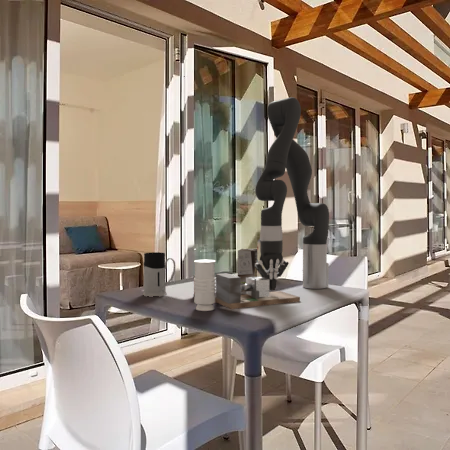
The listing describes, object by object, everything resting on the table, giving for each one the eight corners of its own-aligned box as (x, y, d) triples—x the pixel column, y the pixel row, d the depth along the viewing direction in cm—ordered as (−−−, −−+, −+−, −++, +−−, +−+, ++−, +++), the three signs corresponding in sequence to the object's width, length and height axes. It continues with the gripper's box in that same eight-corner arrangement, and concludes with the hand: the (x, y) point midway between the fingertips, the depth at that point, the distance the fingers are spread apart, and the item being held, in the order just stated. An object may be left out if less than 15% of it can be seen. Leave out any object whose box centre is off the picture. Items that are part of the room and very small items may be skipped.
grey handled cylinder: (154, 291, 171) (154, 251, 170) (183, 295, 163) (183, 253, 162) (137, 294, 164) (137, 253, 163) (166, 299, 155) (166, 256, 155)
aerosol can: (261, 275, 209) (261, 232, 208) (274, 277, 205) (275, 233, 204) (254, 277, 203) (254, 233, 202) (268, 279, 199) (268, 233, 199)
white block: (258, 292, 156) (258, 276, 156) (269, 296, 150) (269, 279, 149) (236, 294, 152) (236, 278, 152) (246, 298, 146) (246, 281, 146)
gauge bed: (280, 295, 163) (280, 268, 162) (299, 301, 152) (300, 273, 152) (214, 301, 152) (214, 273, 151) (230, 309, 141) (230, 278, 140)
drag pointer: (254, 296, 148) (254, 278, 148) (259, 298, 146) (259, 279, 145) (251, 297, 148) (251, 278, 148) (255, 298, 145) (256, 279, 145)
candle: (198, 312, 137) (198, 262, 136) (190, 307, 143) (190, 260, 143) (219, 309, 140) (219, 261, 139) (211, 305, 146) (210, 259, 145)
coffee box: (254, 295, 163) (254, 250, 163) (237, 294, 165) (237, 250, 164) (257, 290, 172) (257, 248, 172) (241, 289, 173) (241, 248, 173)
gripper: (281, 237, 159) (281, 286, 160) (248, 239, 154) (249, 289, 154) (293, 239, 153) (293, 289, 153) (260, 240, 147) (260, 293, 148)
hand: (271, 289), depth 154 cm, fingers closed
